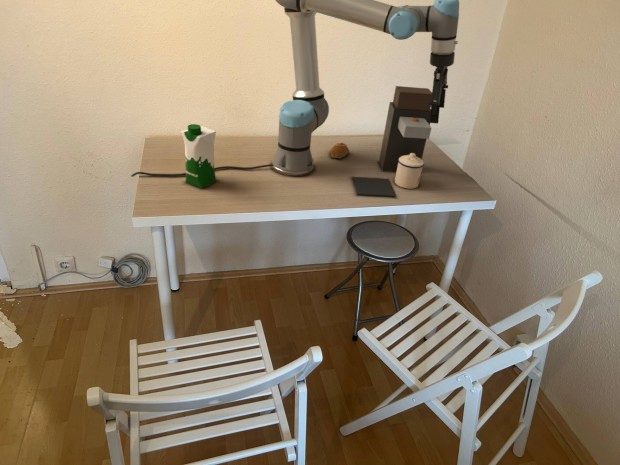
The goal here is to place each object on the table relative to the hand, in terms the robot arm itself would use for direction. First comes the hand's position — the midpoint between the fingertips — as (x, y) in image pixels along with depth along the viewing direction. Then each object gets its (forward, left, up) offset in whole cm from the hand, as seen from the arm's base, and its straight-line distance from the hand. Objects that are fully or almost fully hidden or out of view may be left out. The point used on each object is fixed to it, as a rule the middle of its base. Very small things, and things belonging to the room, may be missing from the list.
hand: (437, 114), depth 164 cm
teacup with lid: (-8, -2, -25) cm, 26 cm away
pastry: (-24, +24, -25) cm, 42 cm away
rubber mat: (-22, -4, -24) cm, 33 cm away
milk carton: (-80, +8, -25) cm, 84 cm away
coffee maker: (-6, +5, -24) cm, 26 cm away
